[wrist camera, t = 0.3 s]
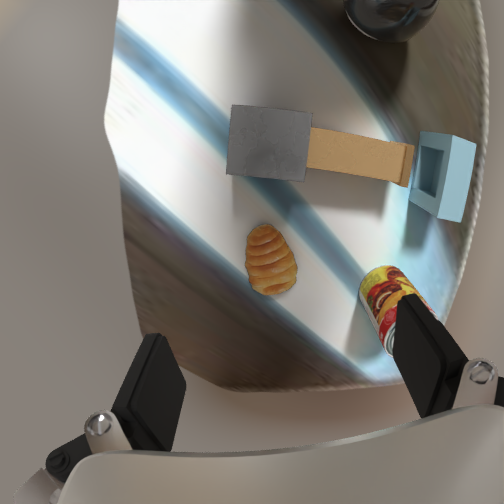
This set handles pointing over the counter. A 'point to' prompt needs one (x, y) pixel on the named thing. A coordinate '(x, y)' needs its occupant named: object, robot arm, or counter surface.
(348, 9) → the pump dispenser
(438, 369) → the robot arm
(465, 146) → the socket block
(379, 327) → the canned food
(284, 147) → the gray square block
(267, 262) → the pastry
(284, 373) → the counter surface
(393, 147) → the tan wooden plank
